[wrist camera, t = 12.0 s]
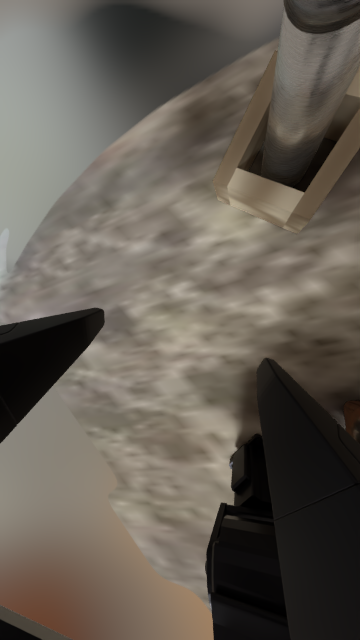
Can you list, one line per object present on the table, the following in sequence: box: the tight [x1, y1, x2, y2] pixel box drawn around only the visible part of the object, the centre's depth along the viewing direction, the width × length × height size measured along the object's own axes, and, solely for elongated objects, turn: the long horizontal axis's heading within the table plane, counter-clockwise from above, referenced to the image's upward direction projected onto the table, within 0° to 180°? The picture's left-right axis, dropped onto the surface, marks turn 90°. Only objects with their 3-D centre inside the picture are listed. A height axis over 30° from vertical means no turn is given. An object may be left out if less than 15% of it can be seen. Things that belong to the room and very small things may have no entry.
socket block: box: [213, 50, 360, 234], centre depth 15 cm, size 9×9×4 cm
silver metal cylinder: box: [261, 0, 360, 188], centre depth 10 cm, size 4×4×12 cm
